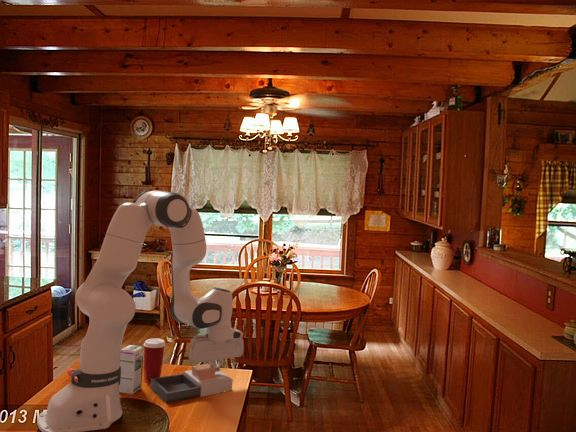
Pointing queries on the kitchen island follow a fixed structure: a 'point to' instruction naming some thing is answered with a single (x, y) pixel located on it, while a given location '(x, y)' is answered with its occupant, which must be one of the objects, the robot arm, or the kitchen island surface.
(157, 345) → the paper cup
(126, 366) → the syrup box
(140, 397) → the kitchen island surface
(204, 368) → the tile
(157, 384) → the tray
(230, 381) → the flat white box
